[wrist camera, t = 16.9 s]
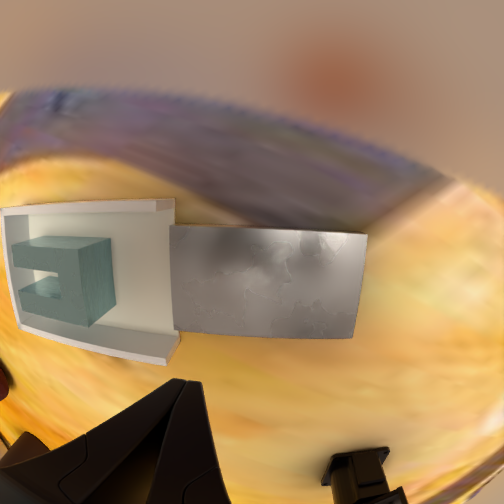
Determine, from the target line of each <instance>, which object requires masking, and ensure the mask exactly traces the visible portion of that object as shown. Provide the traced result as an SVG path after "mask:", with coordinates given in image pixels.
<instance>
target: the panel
mask: <svg viewBox="0 0 504 504" xmlns="http://www.w3.org/2000/svg"><path fill="white" fill-rule="evenodd" d="M367 237H368V235H367V234H365V233H363V232H356V231H340V230H324V229H307V228H288V227H267V226H244V225H216V224H181V223H175V224H172V225H169V249H170V278H171V297H172V313H173V326H174V330H178V331H187V332H197V333H207V334H219V335H232V336H247V337H267V338H299V339H346V338H352V337H353V332H354V327H355V321H356V316H357V310H358V305H359V299H360V292H361V286H362V279H363V271H364V264H365V255H366V247H367Z"/></svg>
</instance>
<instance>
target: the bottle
mask: <svg viewBox="0 0 504 504" xmlns="http://www.w3.org/2000/svg"><path fill="white" fill-rule="evenodd" d="M49 451H50V450H49V449H48V448H47V447H46V446H45V445H44V444H43V443H42V442H41V441H40V440H38V439H37V438H36V437H35V436H33V435H32V434H30V433H27V432H24V433H23V434H22V435H21V436H20V437H19V438H18V439H17V440H16V442H15V443H14V444H13V445H12V446H11V448H10V449H9V450H8V451H7V452H6V453H5V455H4V456H3V457H2V458H1V459H0V468H2V467H7V466H11V465H14V464H17V463H20V462H23V461H25V460H28V459H31V458H34V457H37V456H39V455H42V454H44V453H47V452H49Z"/></svg>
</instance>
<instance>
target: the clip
mask: <svg viewBox="0 0 504 504" xmlns="http://www.w3.org/2000/svg"><path fill="white" fill-rule="evenodd" d="M12 255H13V262H14V267H19V268H26V269H33V270H39V271H47V272H54V273H58V277H54V276H48V277H45V278H43V279H41V280H39V281H37V282H35V283H32V284H30V285H28V286H26V287H24V288H22V289H20V290H18V293H19V298H20V303H21V307H22V311H26V312H29V313H33V314H36V315H40V316H43V317H47V318H51V319H55V320H59V321H63V322H67V323H71V324H75V325H79V326H84V327H88V328H89V327H90V326H91V325H92V324H93V323H95V322H96V321H97V320H98V319H100V318H101V317H102V316H103V315H104V314H106V313H107V312H108V311H109V310H111V309H112V308H113V307H114V306H116V305H117V304H116V296H115V287H114V278H113V266H112V252H111V238H103V237H75V236H41V237H37V238H34V239H30V240H26V241H23V242H19V243H16V244H13V245H12Z"/></svg>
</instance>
